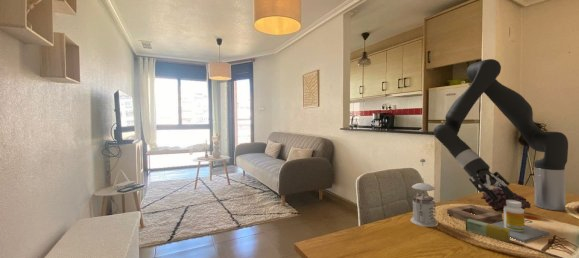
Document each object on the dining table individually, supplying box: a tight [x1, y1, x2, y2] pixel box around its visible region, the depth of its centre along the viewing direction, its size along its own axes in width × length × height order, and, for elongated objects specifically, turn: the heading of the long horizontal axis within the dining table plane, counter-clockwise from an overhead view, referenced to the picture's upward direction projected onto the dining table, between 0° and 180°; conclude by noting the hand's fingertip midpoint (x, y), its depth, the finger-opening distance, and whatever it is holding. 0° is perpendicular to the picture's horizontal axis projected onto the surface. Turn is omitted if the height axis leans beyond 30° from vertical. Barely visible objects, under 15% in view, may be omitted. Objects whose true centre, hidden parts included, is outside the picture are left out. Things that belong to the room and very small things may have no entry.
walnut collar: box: [446, 204, 503, 224], centre depth 99 cm, size 14×12×2 cm
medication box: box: [465, 218, 511, 243], centre depth 84 cm, size 12×3×4 cm, turn 36°
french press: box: [410, 158, 438, 228], centre depth 96 cm, size 10×12×25 cm
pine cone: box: [480, 187, 531, 211], centre depth 105 cm, size 18×10×10 cm, turn 23°
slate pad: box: [491, 220, 551, 243], centre depth 86 cm, size 14×12×1 cm
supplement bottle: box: [503, 200, 525, 232], centre depth 86 cm, size 5×5×10 cm
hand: (505, 199), depth 89 cm, fingers open, 8 cm apart
